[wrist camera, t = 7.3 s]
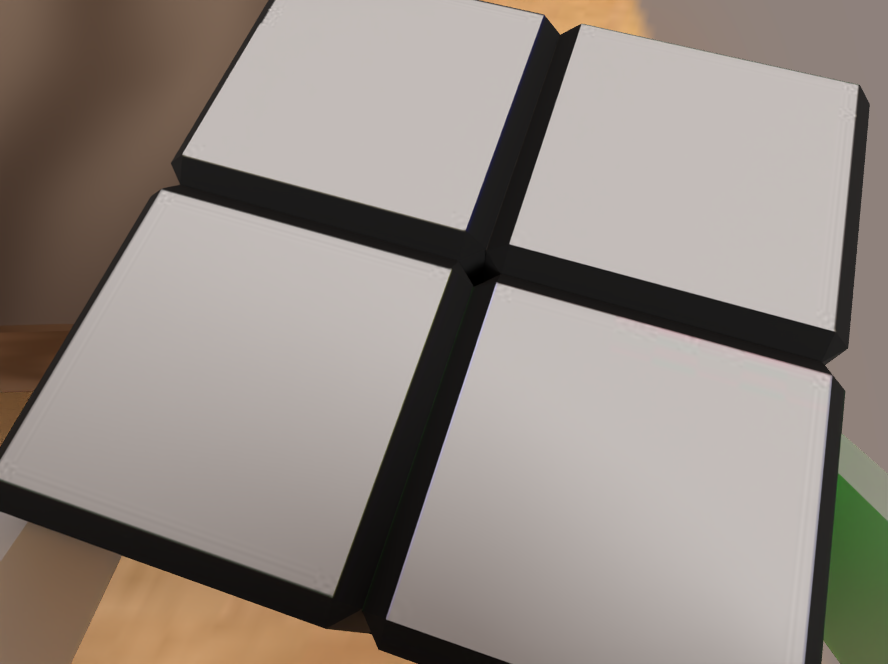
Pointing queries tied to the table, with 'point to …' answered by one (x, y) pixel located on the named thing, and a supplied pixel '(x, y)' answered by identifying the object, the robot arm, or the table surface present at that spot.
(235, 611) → the table surface
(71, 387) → the puzzle cube
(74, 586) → the robot arm
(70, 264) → the walnut stand
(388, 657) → the table surface
